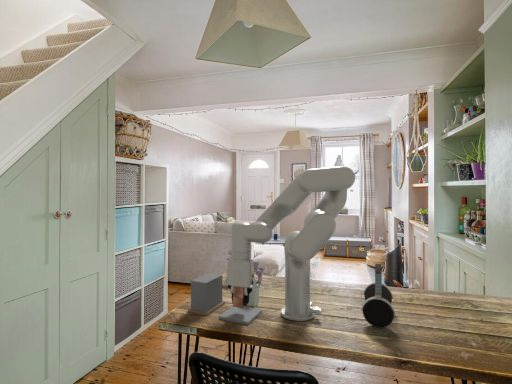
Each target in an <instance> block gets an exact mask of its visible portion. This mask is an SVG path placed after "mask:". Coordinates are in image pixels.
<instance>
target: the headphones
mask: <svg viewBox="0 0 512 384" xmlns="http://www.w3.org/2000/svg"><path fill="white" fill-rule="evenodd" d="M374 267H375V268H374V271H375V272H374V282H372V283H369V284H368V285H367V286H366V287H365V289H364V290H363V294H362V295H363V296H364V300H365V301H364V302H363V304H362V306H361V311H362V315H363V317H364V320H366V322H367V323H368V324H370V325H371V326H372V327H376V328H386V327H388V326H390V325H391V324H392V323H393V321H394V318H395V317H396V311H395V309H394V306H393V304H392V303H393V301H392V300H393V299H394V296H393V293H392V291H391V289H390V288H389V287H388V286H387V285H386V284H384V283H382V282H383V281H382V279H383V278H382V276H383V275H382V263H377V262H376V263H375V264H374Z"/></svg>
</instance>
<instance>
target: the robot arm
mask: <svg viewBox="0 0 512 384" xmlns="http://www.w3.org/2000/svg"><path fill="white" fill-rule="evenodd" d="M355 180H356V174H355V172H354V170H353V169H351V168H350V167H348V166H346V165H345V166H343V165H340V166H329V167H319V168H307V169H305V170H302V171H300V172H299V173H298V174H297V175H296V176H295V177H294V179H293V180H292V181H291V182H290V183H289V184H288V185H287V186H286V187H285V188H284V190H283V191H282V192H281V193H280V194H279V195H278V196H277V197H276V198H275V199H274V200H273V202H272V203H270V205H269V206H268V207H267V208H266V209H265V210H264V211H263V213H262V214H260V215H259V217H258V218H257V219H256V220H255V221H254V223H249V222H246V221H237V222H233V223H232V225H231V231H230V232H231V233H230V234H231V236H230V237H231V239H230V240H231V241H230V243H231V245H230V248H231V249H230V250H229V251H228V252H227V253H228V255H230V257H231V258H229V257H228V258H229V261H228V260H227V261H228V262H227V265H226V266H227V267H226V276H225V278H226V279H224V281H223V284H224V285H225V286H226V287H227V288H228V290H229V291H230V294H231V304H232V305H233V286H236V287H242V288H244V293H245V295H244V296H243V306H245V307H247V306H248V305H247V304H248V303H249V294H250V293H251V292H252V291H253V290H255V289H257V288H258V286H257V284H258V283H257V282H256V280H255V270H254V265H253V260H254V259H253V258H252V243H255V244H256V243H257V244H265V243H268V242H269V241H270V240H271V239H272V237H273V230H274V229H275V228H276V227H277V225H279V223H281V221H283V220H284V219H285V218H287V217H289V216H291V215H292V214H294V213H295V212H296V211H297V210H298V209H299V208H300V206H301V205H303V203H304V202H305V201H306V199H308V198H309V197H310V195H311V194H312V193H322V192H325V193H324V195H323V197H322V198H321V199H320V201H319V202H318V203H317V204H316V205H315V206H314V207H313V208H312V210H311V211H310V212H309V213H308V214H307V215H306V216H305V219H304V221H303V225H304V227H303V228H302V229H301V230H293V231H291V232H289V233H288V234H287V235H286V237H285V239H284V244H283V247H284V249H283V250H284V265H285V266H284V270H285V271H284V299H285V300H284V307H282V308H281V310H280V315H281V317H283V318H285V319H287V320H291V321H296V322H303V321H310V320H311V319H313V318H314V317H315V315H319V316H320V315H322V312H323V311H322V309H321V308H320V307H319V306H314V305H313V302H312V301H311V260H312V259H313V258H314V257H315V256H316V255H317V254H318V253H319V252H320V251H321V249H322V248H323V247H324V246H325V245H326V244H327V243H328V241H330V239H332V237H333V235H334V233H335V231H336V229H337V223H336V220H335V219H336V218H337V217H338V216H339V214H340V213H341V211H342V210H343V209H344V208H345V205H346V203H347V200H348V191H347V190H349V189H350V188H351V187H353V185H354V184H355V182H356V181H355ZM251 285H252V287H251V288H250V286H251Z"/></svg>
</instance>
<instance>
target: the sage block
mask: <svg viewBox="0 0 512 384" xmlns="http://www.w3.org/2000/svg"><path fill="white" fill-rule="evenodd" d="M256 284H257V286H258V288H257V289H255V290H253V291H252V292H251V293H250V294H249V303H248V304H247V305H246V306H248V307H252V308H254V307H256V306H257V305H259V303H260V300H259V299H260V289H259V288H260V284H259V283H256ZM251 287H252V285H251V286H250V288H251Z"/></svg>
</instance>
